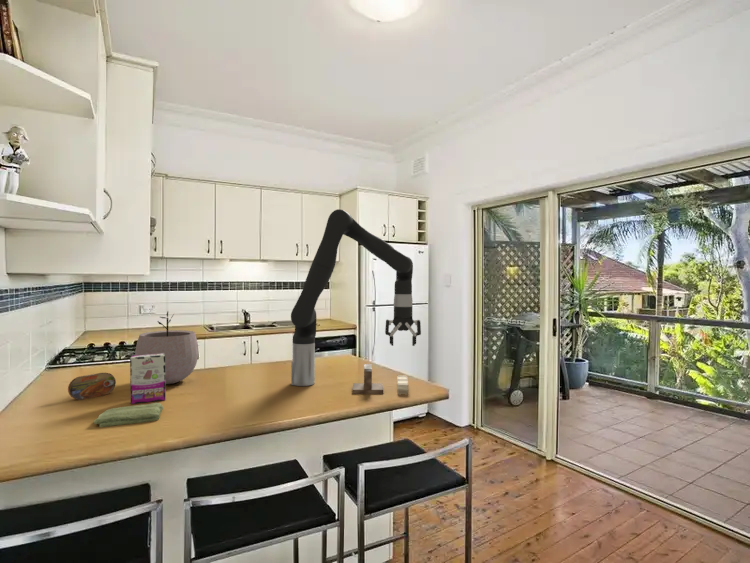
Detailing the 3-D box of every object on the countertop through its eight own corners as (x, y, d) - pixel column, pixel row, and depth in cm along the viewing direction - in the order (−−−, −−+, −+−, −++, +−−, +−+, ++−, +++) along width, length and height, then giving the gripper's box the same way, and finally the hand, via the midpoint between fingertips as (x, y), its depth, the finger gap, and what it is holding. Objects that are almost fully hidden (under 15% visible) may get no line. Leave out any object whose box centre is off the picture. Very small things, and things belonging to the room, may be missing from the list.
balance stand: (352, 393, 166) (352, 369, 166) (353, 386, 176) (353, 363, 176) (383, 393, 166) (383, 369, 166) (382, 387, 176) (382, 363, 176)
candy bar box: (165, 397, 159) (165, 352, 159) (165, 400, 155) (165, 355, 154) (130, 400, 154) (130, 355, 154) (129, 404, 149) (130, 357, 149)
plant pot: (127, 382, 181) (128, 310, 180) (186, 373, 197) (186, 308, 197) (145, 393, 163) (145, 314, 163) (207, 383, 180) (208, 311, 180)
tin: (70, 402, 152) (70, 378, 152) (66, 400, 154) (66, 377, 154) (116, 393, 164) (116, 371, 164) (112, 391, 166) (112, 370, 166)
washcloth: (102, 416, 138) (102, 406, 138) (163, 410, 145) (163, 401, 145) (92, 429, 126) (92, 418, 126) (159, 422, 132) (159, 412, 132)
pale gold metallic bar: (408, 395, 165) (408, 385, 165) (397, 395, 165) (397, 384, 165) (406, 384, 181) (406, 375, 181) (397, 384, 181) (397, 375, 181)
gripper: (385, 306, 169) (385, 347, 169) (421, 306, 169) (421, 347, 169) (385, 304, 176) (384, 344, 177) (419, 304, 177) (419, 344, 177)
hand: (402, 345), depth 173 cm, fingers open, 8 cm apart
